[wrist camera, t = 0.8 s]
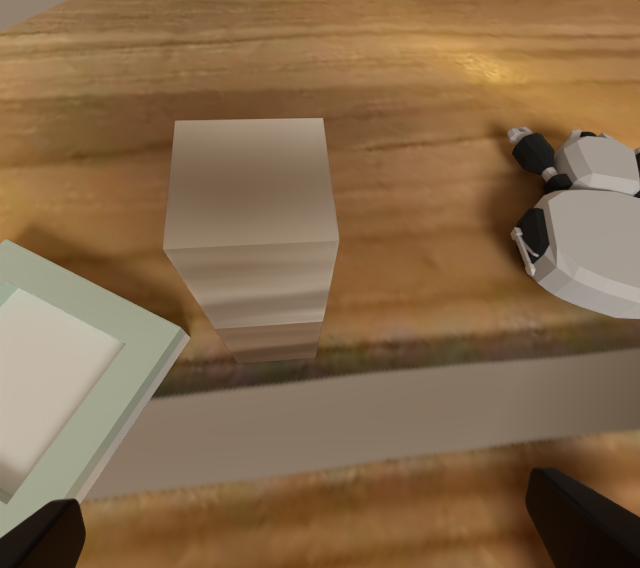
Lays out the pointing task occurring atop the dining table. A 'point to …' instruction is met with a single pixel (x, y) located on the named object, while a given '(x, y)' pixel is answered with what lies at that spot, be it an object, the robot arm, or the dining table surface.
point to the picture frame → (68, 379)
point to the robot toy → (583, 220)
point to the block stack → (254, 231)
